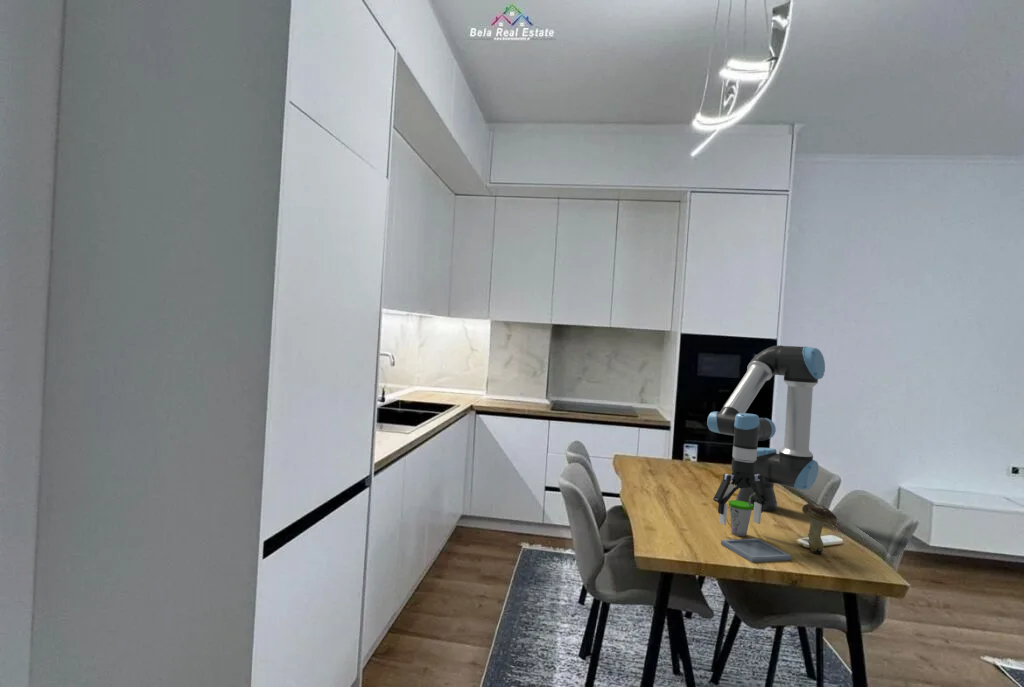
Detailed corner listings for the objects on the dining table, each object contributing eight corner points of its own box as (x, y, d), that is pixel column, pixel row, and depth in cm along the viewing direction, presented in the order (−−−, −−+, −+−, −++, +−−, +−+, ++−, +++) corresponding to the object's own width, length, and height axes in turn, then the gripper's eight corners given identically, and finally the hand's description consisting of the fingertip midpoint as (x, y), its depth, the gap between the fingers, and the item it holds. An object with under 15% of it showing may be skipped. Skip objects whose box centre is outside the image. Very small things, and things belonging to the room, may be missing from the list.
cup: (721, 531, 190) (724, 487, 190) (738, 529, 193) (741, 486, 193) (738, 539, 183) (742, 493, 183) (756, 537, 186) (759, 492, 186)
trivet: (758, 542, 181) (758, 538, 181) (790, 560, 167) (791, 555, 167) (720, 544, 177) (721, 539, 177) (751, 562, 163) (751, 557, 163)
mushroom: (793, 546, 179) (796, 500, 179) (818, 547, 180) (822, 501, 180) (811, 558, 170) (815, 509, 170) (838, 559, 170) (842, 510, 170)
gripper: (767, 457, 195) (762, 518, 195) (705, 457, 188) (700, 520, 188) (783, 462, 188) (778, 525, 188) (719, 462, 181) (714, 527, 181)
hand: (739, 523), depth 188 cm, fingers open, 13 cm apart
